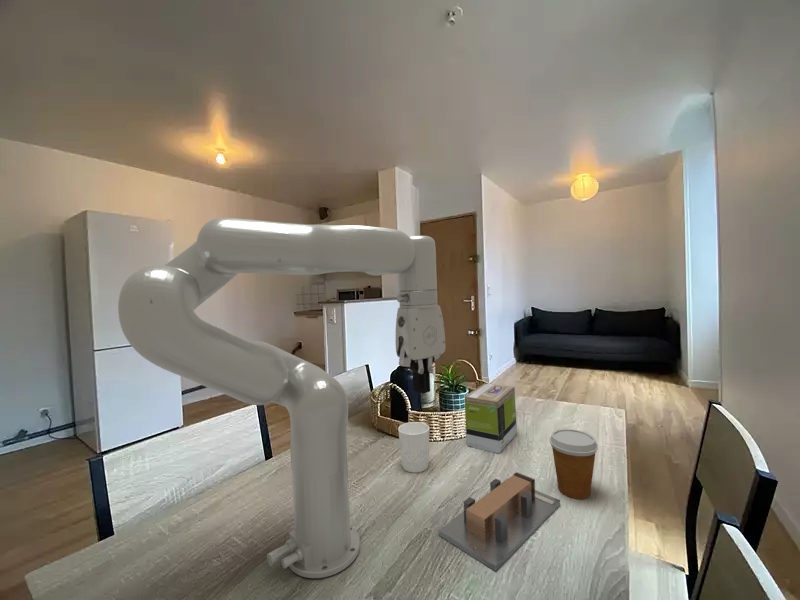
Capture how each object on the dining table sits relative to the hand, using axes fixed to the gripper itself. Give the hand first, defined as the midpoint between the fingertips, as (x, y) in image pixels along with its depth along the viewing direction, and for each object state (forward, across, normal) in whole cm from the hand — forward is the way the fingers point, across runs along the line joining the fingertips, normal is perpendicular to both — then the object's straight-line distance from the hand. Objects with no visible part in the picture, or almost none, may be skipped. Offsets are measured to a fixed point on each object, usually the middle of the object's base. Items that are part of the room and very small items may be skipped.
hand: (421, 391), depth 72 cm
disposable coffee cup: (+25, +28, -18) cm, 42 cm away
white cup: (+25, +12, +15) cm, 32 cm away
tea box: (+25, +38, +9) cm, 47 cm away
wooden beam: (+24, +9, -12) cm, 28 cm away
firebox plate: (+25, +9, -12) cm, 29 cm away
